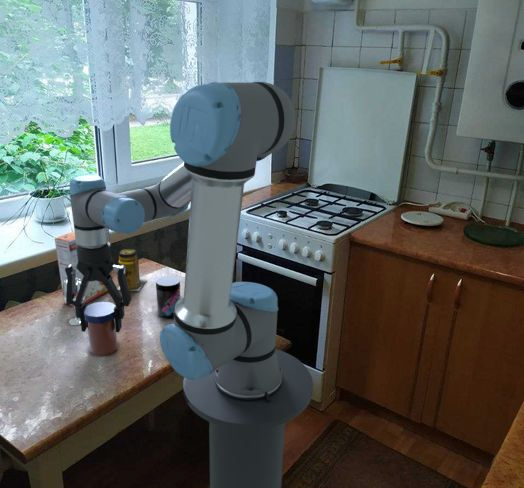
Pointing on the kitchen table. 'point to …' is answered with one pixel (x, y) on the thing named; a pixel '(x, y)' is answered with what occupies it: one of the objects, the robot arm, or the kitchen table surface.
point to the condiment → (131, 269)
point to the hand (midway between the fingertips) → (101, 329)
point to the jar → (102, 337)
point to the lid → (99, 312)
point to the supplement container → (167, 295)
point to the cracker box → (69, 255)
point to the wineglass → (77, 286)
